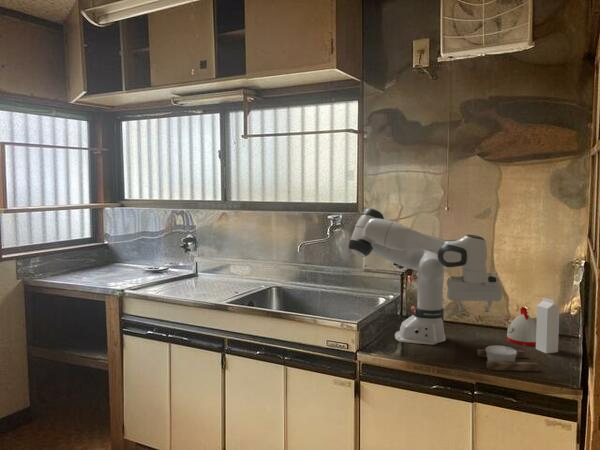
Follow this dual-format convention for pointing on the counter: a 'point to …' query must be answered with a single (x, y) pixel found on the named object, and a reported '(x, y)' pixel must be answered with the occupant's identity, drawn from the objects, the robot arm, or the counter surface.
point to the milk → (547, 326)
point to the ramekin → (501, 353)
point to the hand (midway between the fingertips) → (473, 311)
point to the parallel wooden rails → (509, 363)
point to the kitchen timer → (522, 330)
